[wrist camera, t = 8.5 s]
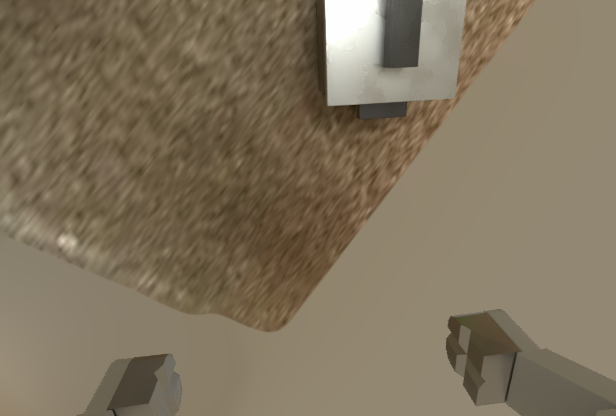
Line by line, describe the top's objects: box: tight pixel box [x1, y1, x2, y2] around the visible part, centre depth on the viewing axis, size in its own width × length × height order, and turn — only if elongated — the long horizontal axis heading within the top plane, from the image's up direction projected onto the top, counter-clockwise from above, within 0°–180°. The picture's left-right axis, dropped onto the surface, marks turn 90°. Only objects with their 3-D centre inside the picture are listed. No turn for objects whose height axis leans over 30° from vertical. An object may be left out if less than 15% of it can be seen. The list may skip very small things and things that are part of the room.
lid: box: [323, 0, 466, 106], centre depth 23 cm, size 10×10×4 cm
